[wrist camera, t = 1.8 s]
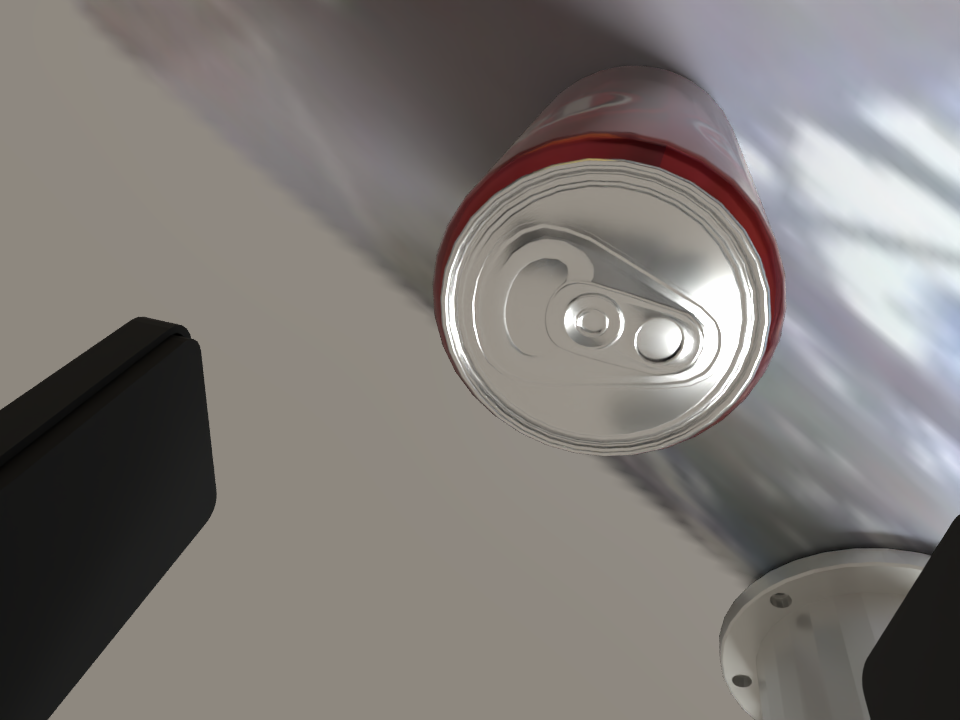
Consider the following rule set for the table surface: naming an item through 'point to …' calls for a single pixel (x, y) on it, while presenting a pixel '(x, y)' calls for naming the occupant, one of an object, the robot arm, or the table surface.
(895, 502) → the table surface
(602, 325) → the soda can
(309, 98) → the table surface
